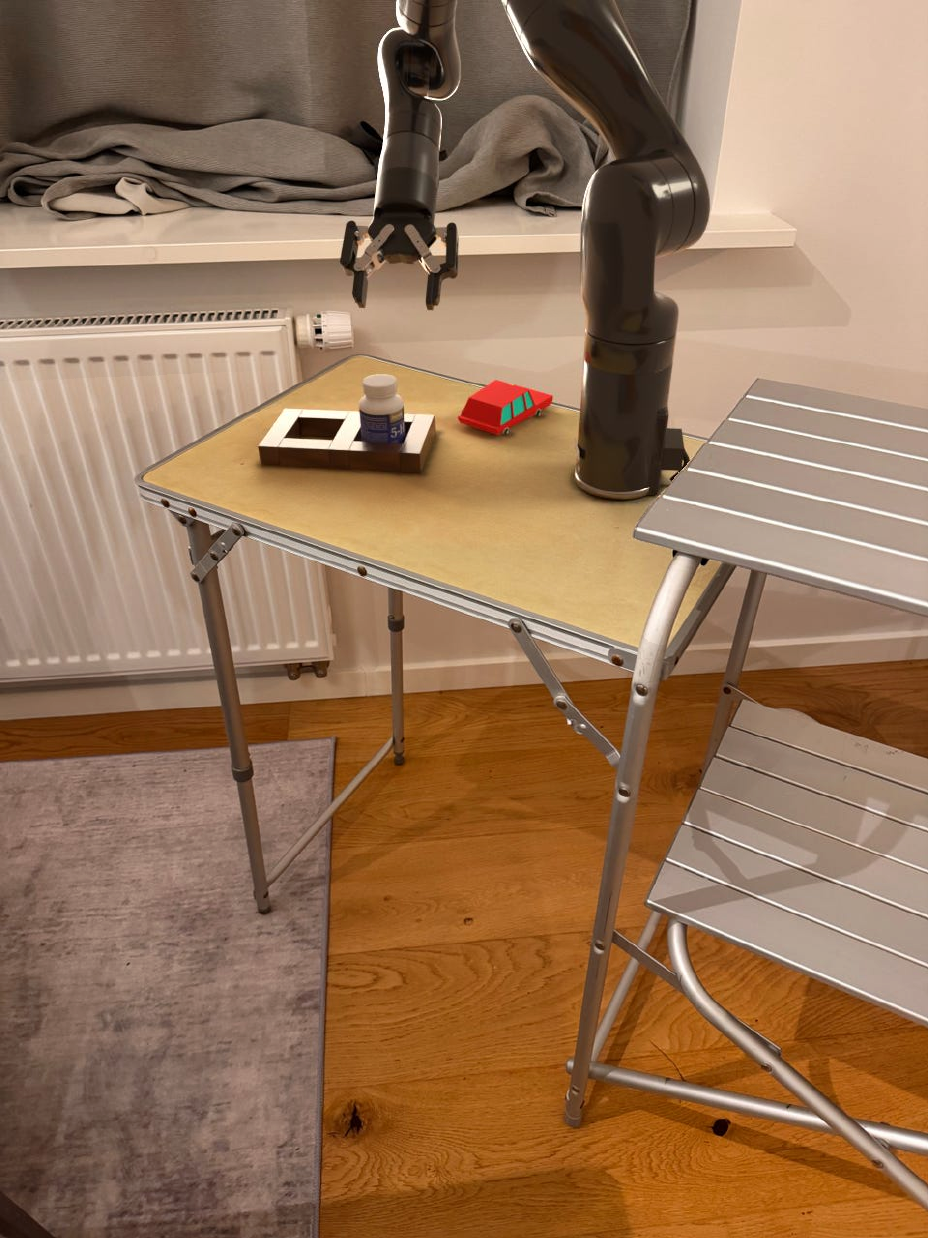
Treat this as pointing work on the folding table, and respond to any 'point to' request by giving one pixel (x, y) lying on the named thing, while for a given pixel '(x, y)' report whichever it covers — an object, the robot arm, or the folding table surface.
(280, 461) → the peg board
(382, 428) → the pill bottle
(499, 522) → the folding table surface
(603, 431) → the robot arm
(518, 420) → the toy car
